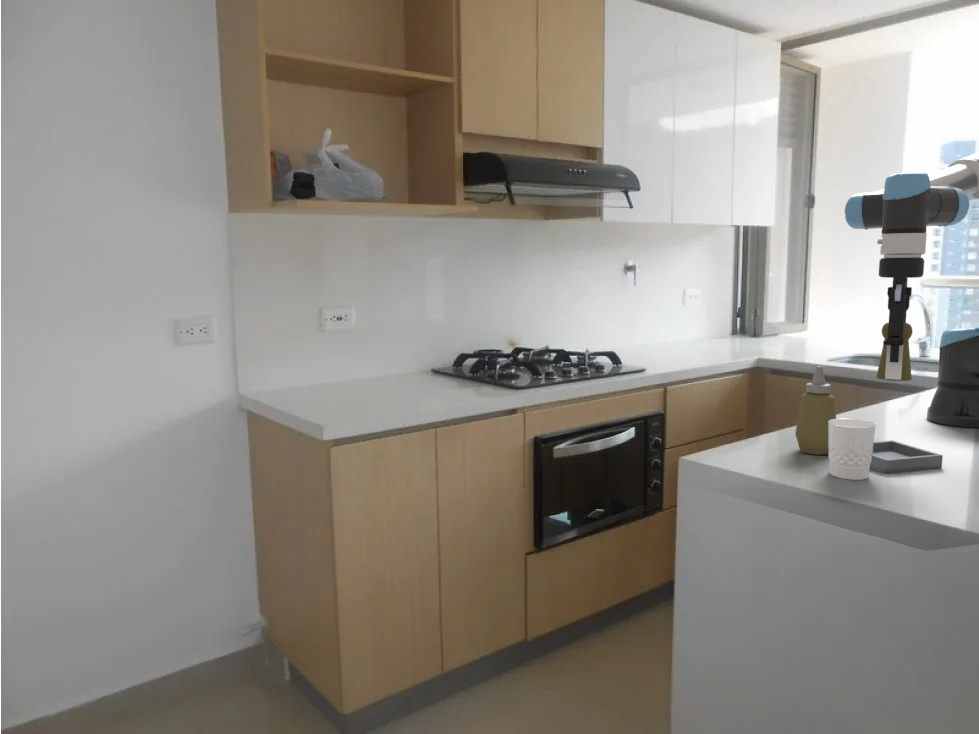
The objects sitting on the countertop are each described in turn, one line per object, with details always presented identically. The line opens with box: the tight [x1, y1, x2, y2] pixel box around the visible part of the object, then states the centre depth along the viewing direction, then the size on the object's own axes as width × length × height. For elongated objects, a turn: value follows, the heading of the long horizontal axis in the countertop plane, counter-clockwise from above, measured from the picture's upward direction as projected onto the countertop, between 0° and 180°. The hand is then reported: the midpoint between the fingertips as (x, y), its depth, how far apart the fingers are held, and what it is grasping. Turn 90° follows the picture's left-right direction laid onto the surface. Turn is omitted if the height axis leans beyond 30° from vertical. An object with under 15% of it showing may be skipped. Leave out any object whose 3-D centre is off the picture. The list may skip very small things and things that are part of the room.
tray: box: [870, 439, 944, 474], centre depth 148 cm, size 13×13×2 cm
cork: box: [876, 322, 913, 382], centre depth 145 cm, size 6×6×11 cm
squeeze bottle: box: [795, 365, 837, 456], centre depth 155 cm, size 8×8×18 cm
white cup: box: [827, 417, 877, 481], centre depth 139 cm, size 8×8×10 cm
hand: (893, 376), depth 146 cm, fingers closed on cork, 6 cm apart
